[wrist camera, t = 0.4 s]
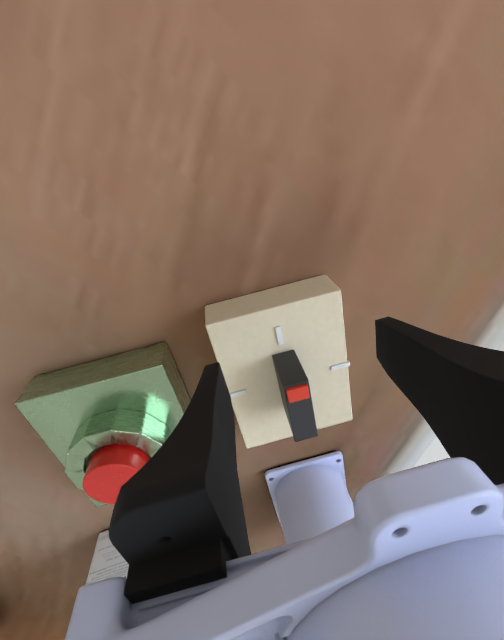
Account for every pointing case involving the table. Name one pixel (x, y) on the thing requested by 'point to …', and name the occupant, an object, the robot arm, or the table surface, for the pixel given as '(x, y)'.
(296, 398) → the block
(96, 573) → the syrup box
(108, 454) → the button
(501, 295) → the table surface
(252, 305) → the dial panel
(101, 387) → the push button base
